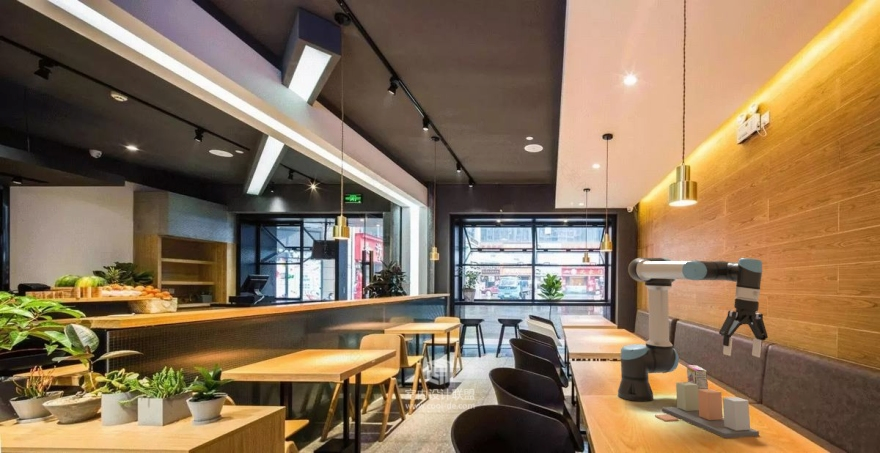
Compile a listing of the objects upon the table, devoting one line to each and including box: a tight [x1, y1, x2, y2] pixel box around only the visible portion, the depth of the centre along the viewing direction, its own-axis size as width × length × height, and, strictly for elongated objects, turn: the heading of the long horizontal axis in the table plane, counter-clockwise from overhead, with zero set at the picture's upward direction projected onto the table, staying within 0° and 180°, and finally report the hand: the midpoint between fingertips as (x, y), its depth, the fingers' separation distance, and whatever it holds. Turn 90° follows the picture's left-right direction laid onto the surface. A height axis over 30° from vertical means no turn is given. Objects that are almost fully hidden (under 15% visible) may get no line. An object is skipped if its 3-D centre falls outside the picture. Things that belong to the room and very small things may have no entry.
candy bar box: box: [686, 364, 709, 403], centre depth 197 cm, size 11×5×16 cm, turn 168°
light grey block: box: [722, 396, 751, 431], centre depth 164 cm, size 5×6×10 cm
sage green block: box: [675, 381, 699, 411], centre depth 187 cm, size 5×6×10 cm
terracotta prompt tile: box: [654, 413, 680, 422], centre depth 178 cm, size 6×6×1 cm
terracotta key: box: [698, 388, 724, 420], centre depth 175 cm, size 5×6×10 cm
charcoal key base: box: [661, 406, 760, 439], centre depth 174 cm, size 32×14×2 cm, turn 12°
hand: (741, 355), depth 170 cm, fingers open, 13 cm apart
